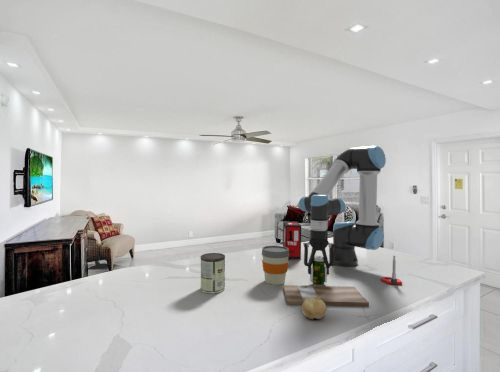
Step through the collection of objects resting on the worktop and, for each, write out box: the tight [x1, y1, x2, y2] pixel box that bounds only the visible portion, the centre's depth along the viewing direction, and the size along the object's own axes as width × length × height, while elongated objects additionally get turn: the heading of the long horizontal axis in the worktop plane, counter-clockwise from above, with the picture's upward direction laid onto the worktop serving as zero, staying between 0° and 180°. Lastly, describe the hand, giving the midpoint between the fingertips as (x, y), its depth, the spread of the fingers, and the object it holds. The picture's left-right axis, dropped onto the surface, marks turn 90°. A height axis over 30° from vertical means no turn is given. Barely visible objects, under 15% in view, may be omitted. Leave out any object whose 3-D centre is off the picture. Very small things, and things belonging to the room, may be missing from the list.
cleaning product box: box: [282, 220, 302, 261], centre depth 178 cm, size 16×9×20 cm, turn 179°
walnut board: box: [282, 284, 370, 307], centre depth 115 cm, size 16×30×2 cm, turn 89°
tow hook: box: [380, 255, 403, 286], centre depth 135 cm, size 8×13×9 cm
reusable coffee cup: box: [261, 245, 289, 286], centre depth 132 cm, size 13×13×15 cm
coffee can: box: [200, 252, 226, 294], centre depth 122 cm, size 10×10×14 cm
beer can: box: [311, 255, 326, 286], centre depth 129 cm, size 5×5×12 cm
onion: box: [301, 294, 327, 321], centre depth 98 cm, size 8×8×7 cm
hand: (318, 281), depth 129 cm, fingers closed on beer can, 5 cm apart
